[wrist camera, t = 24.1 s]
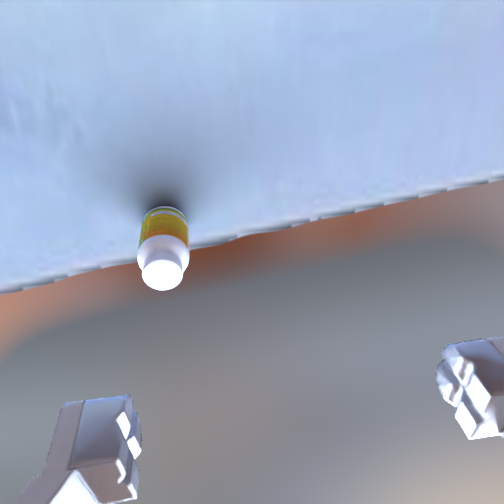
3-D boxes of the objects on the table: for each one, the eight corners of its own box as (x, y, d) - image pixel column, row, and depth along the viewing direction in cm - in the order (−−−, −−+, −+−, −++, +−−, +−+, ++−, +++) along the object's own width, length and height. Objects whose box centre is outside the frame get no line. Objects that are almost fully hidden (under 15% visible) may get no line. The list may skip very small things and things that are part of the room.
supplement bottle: (139, 205, 45) (131, 254, 37) (187, 204, 46) (188, 252, 38) (144, 244, 48) (137, 297, 40) (189, 242, 49) (190, 294, 41)
